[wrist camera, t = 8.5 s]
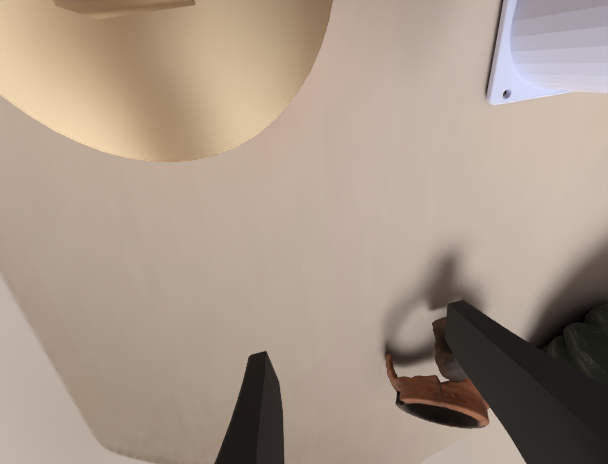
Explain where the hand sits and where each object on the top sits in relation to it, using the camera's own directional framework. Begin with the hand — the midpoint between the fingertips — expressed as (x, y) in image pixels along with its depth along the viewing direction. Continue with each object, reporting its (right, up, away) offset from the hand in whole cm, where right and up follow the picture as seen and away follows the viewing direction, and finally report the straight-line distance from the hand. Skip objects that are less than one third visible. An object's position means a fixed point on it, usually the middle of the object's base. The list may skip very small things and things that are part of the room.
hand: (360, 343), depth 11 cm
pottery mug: (+10, -6, +17) cm, 21 cm away
